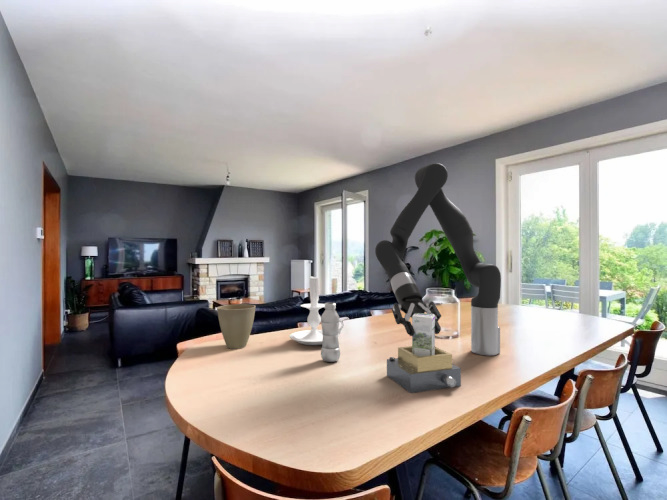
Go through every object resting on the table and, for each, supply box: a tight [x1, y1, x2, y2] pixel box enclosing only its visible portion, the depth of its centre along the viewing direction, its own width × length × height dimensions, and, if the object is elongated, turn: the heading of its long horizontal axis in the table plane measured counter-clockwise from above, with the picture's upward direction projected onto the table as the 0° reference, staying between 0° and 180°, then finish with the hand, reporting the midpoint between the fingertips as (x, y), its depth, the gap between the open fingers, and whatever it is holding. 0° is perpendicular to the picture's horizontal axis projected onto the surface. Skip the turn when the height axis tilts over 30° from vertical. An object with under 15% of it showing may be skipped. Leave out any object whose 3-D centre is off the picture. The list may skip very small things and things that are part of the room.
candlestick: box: [289, 275, 345, 346], centre depth 147 cm, size 21×25×28 cm
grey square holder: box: [386, 345, 462, 394], centre depth 102 cm, size 16×17×9 cm
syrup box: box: [411, 313, 436, 357], centre depth 102 cm, size 6×6×14 cm
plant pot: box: [216, 303, 256, 350], centre depth 141 cm, size 15×15×16 cm
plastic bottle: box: [320, 302, 341, 363], centre depth 122 cm, size 6×7×20 cm
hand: (425, 333), depth 101 cm, fingers open, 8 cm apart
